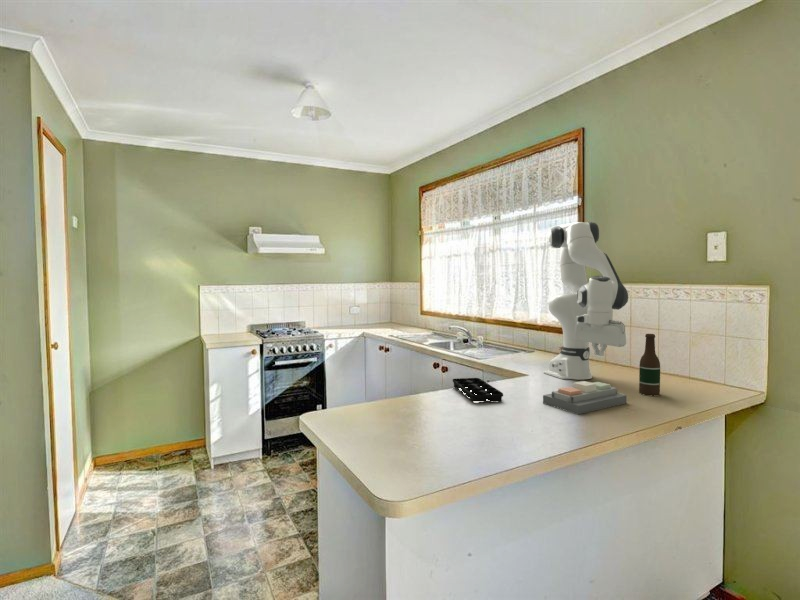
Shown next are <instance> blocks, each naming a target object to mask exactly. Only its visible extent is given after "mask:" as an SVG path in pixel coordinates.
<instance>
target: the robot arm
mask: <svg viewBox="0 0 800 600" xmlns="http://www.w3.org/2000/svg"><path fill="white" fill-rule="evenodd" d="M600 235H601V231H600V228H599V225H598V223H597V222H593V221H587V222H585V221H584V222H582V221H577V222H576V221H575V222H570V223H565V224H564V223H563V224H560V225H559V224H558V225H557V224H556V225H553V226H551V227H550V229H549V231H548V237H547V239H548V242H549V243H550V246H551V247H552V248H556V249H560V252H559V268H560V278H561V279H560V280H561V283H562V284H563V285H564V286H566V287H568V288H569V289H570V290H571V291H572V293H561V294H558V295H554V296H552V297H551V298H550V299H549V303H548V310H549V312H550V314H551V315H552V316H553V317H554V318H556V319H557V321H558V322H559V324H560V326H561V329H562V336H563V337H562V339H563V346H559V347H558V351H560V352H559V353H558V355H556V356H555V357H553V358H552V359H550V361H549V363H548V369H545V370H543V373H544V374H546V375H549V376H551V377H555V378H557V379H558V378H559V379H561V380H580V381H585V380H589V379H592V378H593V376H592V372H591V367H590V355H591V354H590V352H591V350H590V347H589V346H590V345H589V343H590V344H591V346H592V349H593V350H594V355H595V356H600V357H603V356H604V355H605V351H606V349H607V347H608V346H610V347H611V346H612V347H617V348H620V347H621V348H622V347H625V346H626V344H627V335H626V325H625V323H624V322H622V321H620V320H614V319H613V317H614V311H613V310H621V309H623V308H624V307H625V306H626V304H627V303H628V302H629V292H628V290H627V288H626V286H625V285H624V284H623V283H622V281H621V280H620V277H619V275H618V273H617V271H616V269H615V267H614V265H613V262H612V261H611V259H610V258H609V256H608V254H606V253H605V252H603V251H602V250H601V249H600V248H599V247H598V246H597V243H598V241H599V239H600ZM586 267H587V268H591V269H594V270H596V271H598V272H600V274H601V275H595V276H591V277H589V280H588V275H587V270H586ZM599 347H600V348H599Z"/></svg>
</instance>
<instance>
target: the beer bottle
mask: <svg viewBox="0 0 800 600" xmlns="http://www.w3.org/2000/svg"><path fill="white" fill-rule="evenodd" d="M644 335H645V336H644V337H645V347H644V353H643V355H641V356H640V359H639V373H638V374H639V377H638V378H639V379H638V380H639V381H638V382H639V384H638V388H639V389H638V390H639V394H640V393H641V395H643V394H644V396H647V395H652V396H651V397H655V396H654V395H659V396H660V393H661V362H660V359H659V357H658V355H657V354H656V342H655V338H656V334H654V333H645V334H644Z"/></svg>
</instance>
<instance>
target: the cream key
mask: <svg viewBox="0 0 800 600" xmlns="http://www.w3.org/2000/svg"><path fill="white" fill-rule="evenodd" d="M572 386H573V387H572V388H575V389H579V390H581V392H584V393H589V392H594V391H596V384H595V383H593V382H591V381H585V380H580V381H576V382H573V385H572Z"/></svg>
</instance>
